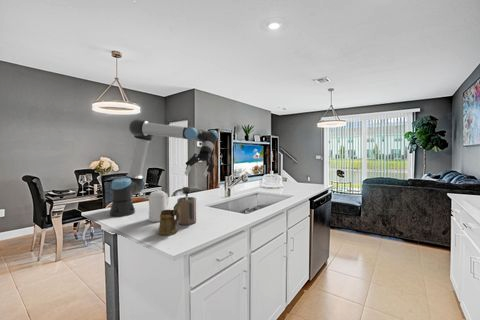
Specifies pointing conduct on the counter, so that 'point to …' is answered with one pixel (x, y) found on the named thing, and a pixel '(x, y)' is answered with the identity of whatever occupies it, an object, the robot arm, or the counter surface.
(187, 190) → the plunger
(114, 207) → the robot arm
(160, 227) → the wooden mug
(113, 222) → the counter surface
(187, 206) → the press carafe
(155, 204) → the coffeepot
